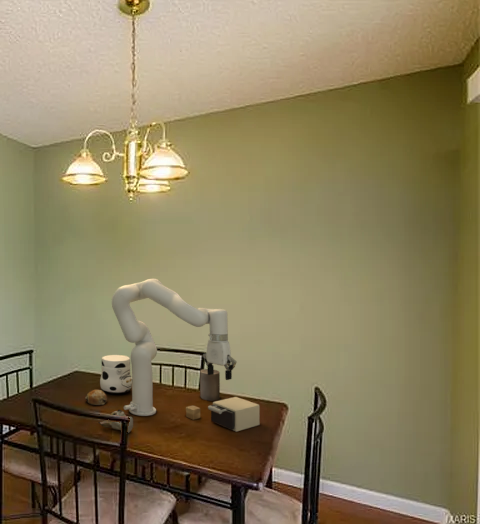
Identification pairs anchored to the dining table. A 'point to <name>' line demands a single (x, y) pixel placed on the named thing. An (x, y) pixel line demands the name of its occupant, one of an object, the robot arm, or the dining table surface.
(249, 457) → the dining table surface
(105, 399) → the bread roll
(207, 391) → the pillar candle
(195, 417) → the block
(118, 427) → the ceramic sculpture
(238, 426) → the cabinet
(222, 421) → the drawer
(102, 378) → the milk container
